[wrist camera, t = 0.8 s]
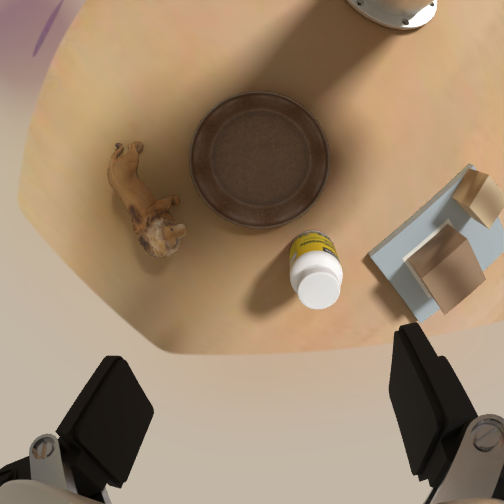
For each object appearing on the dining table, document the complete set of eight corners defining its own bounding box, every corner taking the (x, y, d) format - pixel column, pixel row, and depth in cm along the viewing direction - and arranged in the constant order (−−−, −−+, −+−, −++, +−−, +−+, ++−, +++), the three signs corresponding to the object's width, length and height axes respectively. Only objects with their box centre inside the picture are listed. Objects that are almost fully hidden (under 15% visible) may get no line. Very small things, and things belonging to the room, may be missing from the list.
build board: (468, 163, 29) (474, 165, 28) (505, 242, 32) (509, 245, 31) (368, 253, 35) (370, 257, 34) (417, 318, 38) (420, 324, 37)
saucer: (185, 204, 36) (177, 210, 33) (211, 82, 30) (205, 78, 27) (305, 235, 36) (306, 244, 33) (342, 114, 30) (346, 113, 27)
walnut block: (447, 223, 31) (467, 238, 27) (467, 262, 33) (485, 279, 28) (407, 259, 34) (421, 278, 29) (430, 294, 35) (444, 315, 31)
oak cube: (468, 168, 28) (488, 175, 24) (488, 190, 29) (508, 199, 25) (450, 196, 30) (469, 206, 26) (470, 217, 30) (489, 229, 26)
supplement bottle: (340, 235, 35) (356, 273, 26) (325, 274, 37) (336, 321, 28) (296, 223, 35) (299, 259, 26) (284, 264, 37) (282, 309, 28)
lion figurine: (209, 217, 36) (186, 246, 28) (179, 243, 38) (151, 276, 29) (131, 128, 32) (88, 133, 24) (105, 158, 34) (61, 171, 26)
